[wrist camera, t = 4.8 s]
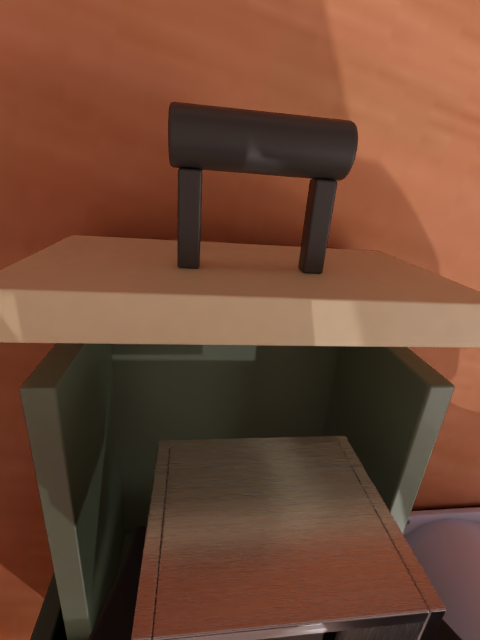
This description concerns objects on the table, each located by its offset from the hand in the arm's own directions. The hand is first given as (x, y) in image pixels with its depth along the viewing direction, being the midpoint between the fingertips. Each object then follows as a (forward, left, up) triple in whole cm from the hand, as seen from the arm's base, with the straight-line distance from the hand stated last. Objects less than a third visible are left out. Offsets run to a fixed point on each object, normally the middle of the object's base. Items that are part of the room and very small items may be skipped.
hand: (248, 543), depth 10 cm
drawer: (0, -2, -7) cm, 7 cm away
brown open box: (0, 0, 0) cm, 0 cm away
